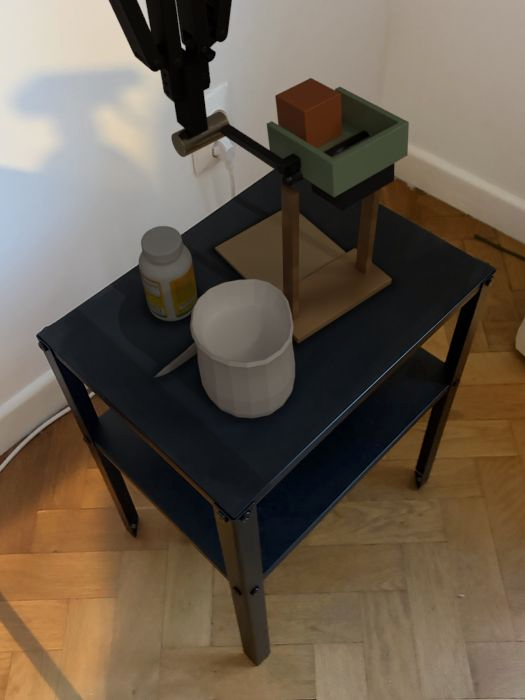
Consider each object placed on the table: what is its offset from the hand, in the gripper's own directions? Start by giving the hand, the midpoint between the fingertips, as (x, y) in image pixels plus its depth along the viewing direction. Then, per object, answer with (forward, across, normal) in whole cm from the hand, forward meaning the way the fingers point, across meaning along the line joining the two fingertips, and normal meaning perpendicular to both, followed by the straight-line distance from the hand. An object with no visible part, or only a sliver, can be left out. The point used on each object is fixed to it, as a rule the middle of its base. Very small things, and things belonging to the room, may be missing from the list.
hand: (192, 125), depth 64 cm
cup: (+21, +5, +13) cm, 25 cm away
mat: (+20, -8, +1) cm, 22 cm away
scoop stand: (+20, -8, +10) cm, 24 cm away
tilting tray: (+4, -6, +7) cm, 10 cm away
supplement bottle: (+21, +5, 0) cm, 21 cm away
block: (-1, -8, +8) cm, 11 cm away
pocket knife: (+21, +6, +7) cm, 22 cm away
